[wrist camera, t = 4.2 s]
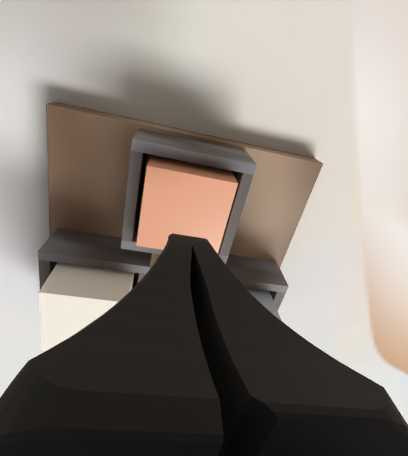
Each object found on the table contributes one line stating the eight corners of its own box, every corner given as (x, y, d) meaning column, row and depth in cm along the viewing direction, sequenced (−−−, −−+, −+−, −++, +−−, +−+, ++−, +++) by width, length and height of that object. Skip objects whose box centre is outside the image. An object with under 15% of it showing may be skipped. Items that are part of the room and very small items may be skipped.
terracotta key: (143, 218, 17) (136, 245, 14) (153, 148, 15) (146, 165, 12) (211, 229, 17) (216, 257, 15) (228, 164, 15) (238, 183, 13)
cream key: (62, 309, 18) (41, 350, 15) (62, 255, 16) (38, 292, 13) (128, 316, 18) (119, 357, 16) (135, 266, 17) (126, 302, 14)
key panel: (57, 297, 20) (35, 337, 17) (54, 102, 15) (20, 110, 12) (250, 320, 23) (261, 358, 20) (315, 159, 17) (345, 178, 14)
